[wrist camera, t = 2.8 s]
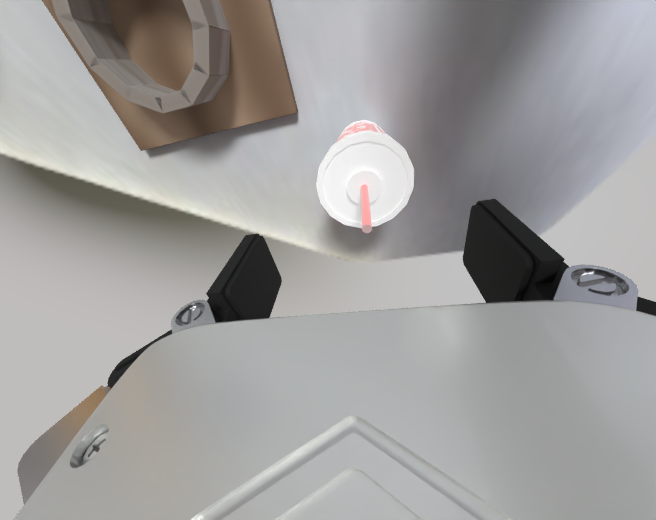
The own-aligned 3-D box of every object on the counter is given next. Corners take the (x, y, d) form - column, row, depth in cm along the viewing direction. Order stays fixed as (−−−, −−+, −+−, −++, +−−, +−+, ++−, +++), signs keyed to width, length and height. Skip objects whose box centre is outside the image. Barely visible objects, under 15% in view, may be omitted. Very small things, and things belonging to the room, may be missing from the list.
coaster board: (218, -209, 12) (170, -306, 9) (298, 111, 20) (287, 119, 17) (-2, -83, 15) (-93, -121, 12) (146, 148, 24) (115, 160, 20)
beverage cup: (319, 166, 23) (287, 253, 12) (344, 96, 19) (330, 134, 9) (375, 190, 24) (390, 289, 13) (409, 128, 20) (469, 197, 10)
